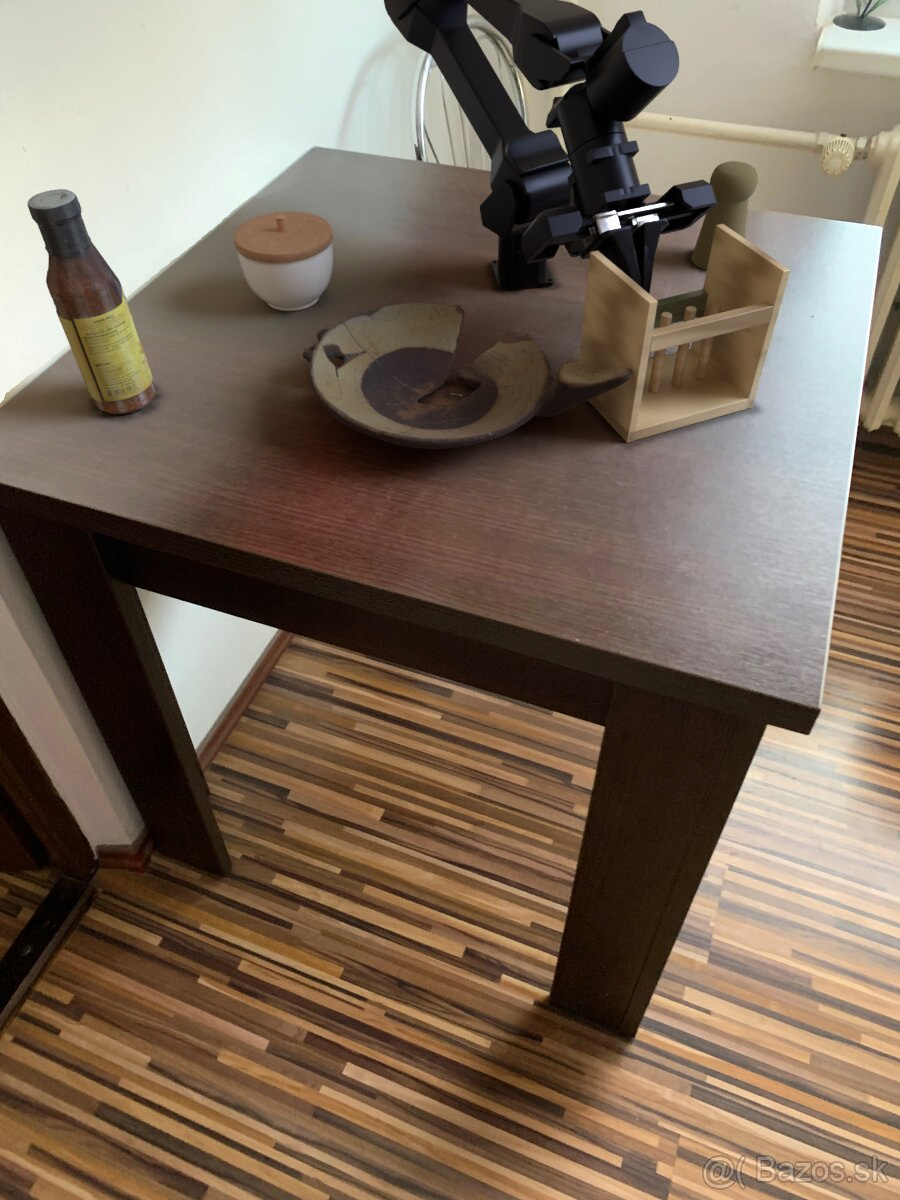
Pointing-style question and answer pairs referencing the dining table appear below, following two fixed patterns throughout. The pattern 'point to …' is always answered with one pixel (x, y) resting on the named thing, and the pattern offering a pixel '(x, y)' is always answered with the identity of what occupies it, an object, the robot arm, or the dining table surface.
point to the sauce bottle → (92, 307)
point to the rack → (682, 339)
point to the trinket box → (286, 258)
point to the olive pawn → (726, 205)
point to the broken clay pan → (440, 378)
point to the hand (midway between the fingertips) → (642, 307)
